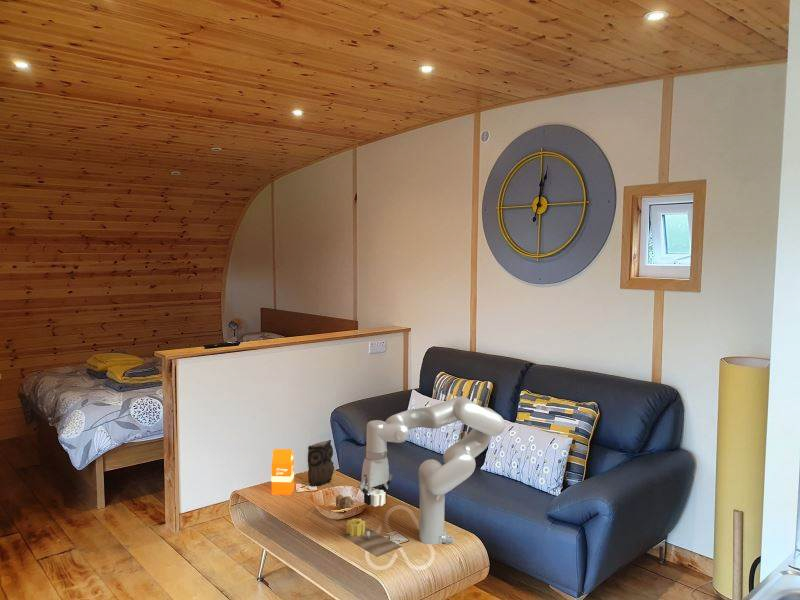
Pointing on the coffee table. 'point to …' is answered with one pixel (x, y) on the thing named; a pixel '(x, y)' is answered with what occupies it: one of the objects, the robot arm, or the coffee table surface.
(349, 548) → the coffee table surface
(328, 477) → the owl
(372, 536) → the gear board
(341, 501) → the lion figurine
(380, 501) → the loose gear
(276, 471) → the orange juice
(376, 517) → the coffee table surface
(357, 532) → the gear
